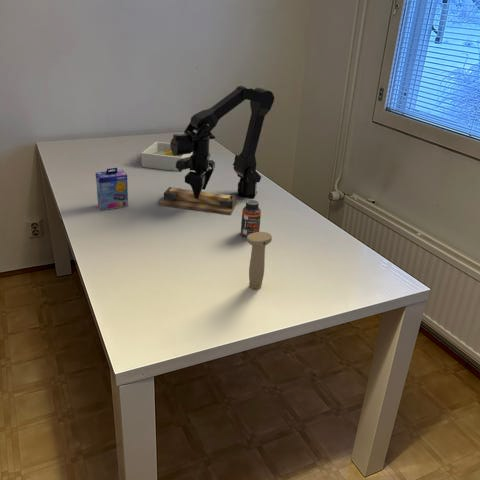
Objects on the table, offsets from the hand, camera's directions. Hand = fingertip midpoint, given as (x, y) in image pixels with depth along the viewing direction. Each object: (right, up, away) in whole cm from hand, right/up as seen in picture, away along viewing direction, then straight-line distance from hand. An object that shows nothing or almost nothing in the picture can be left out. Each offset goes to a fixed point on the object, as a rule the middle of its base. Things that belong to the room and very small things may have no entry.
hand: (200, 193), depth 176 cm
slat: (0, -2, +1) cm, 3 cm away
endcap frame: (0, -3, +2) cm, 4 cm away
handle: (+18, -29, -45) cm, 57 cm away
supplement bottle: (+18, -15, -18) cm, 29 cm away
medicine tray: (-17, +17, +40) cm, 47 cm away
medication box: (-20, +18, +42) cm, 50 cm away
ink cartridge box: (-30, -5, -4) cm, 31 cm away
